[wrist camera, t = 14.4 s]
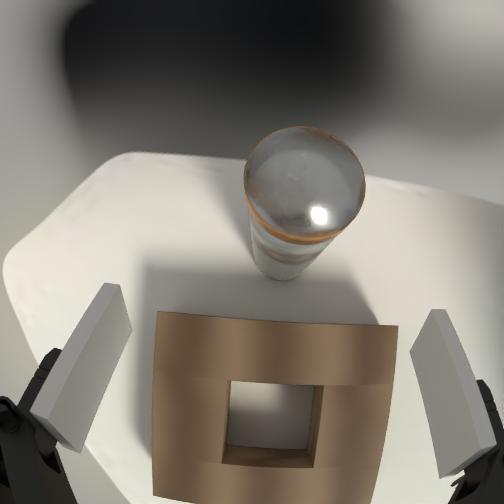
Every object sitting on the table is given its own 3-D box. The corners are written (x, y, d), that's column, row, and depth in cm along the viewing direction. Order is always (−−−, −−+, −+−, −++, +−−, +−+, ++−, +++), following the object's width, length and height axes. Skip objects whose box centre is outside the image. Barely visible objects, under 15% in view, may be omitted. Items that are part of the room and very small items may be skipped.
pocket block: (380, 324, 26) (398, 325, 22) (357, 486, 23) (369, 505, 19) (171, 312, 27) (157, 311, 23) (165, 476, 24) (153, 495, 20)
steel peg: (312, 224, 28) (361, 133, 13) (310, 282, 27) (367, 243, 12) (254, 220, 28) (248, 122, 13) (250, 278, 27) (238, 234, 12)
